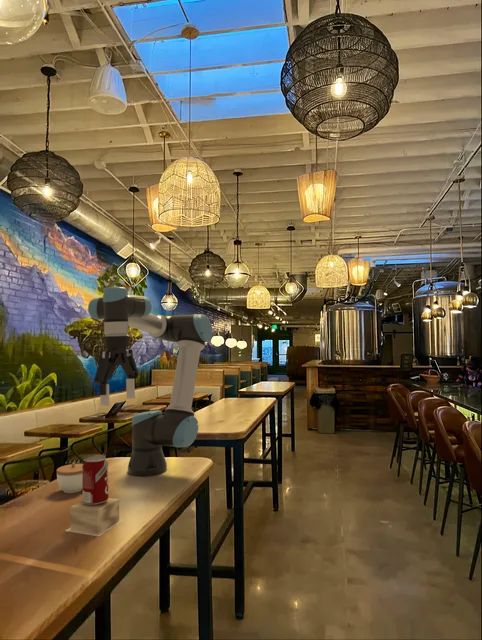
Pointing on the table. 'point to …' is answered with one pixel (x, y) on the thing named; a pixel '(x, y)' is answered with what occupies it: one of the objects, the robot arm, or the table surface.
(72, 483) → the lidded jar
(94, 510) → the beech block
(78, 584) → the table surface
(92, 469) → the soda can
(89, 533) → the grey square plate
